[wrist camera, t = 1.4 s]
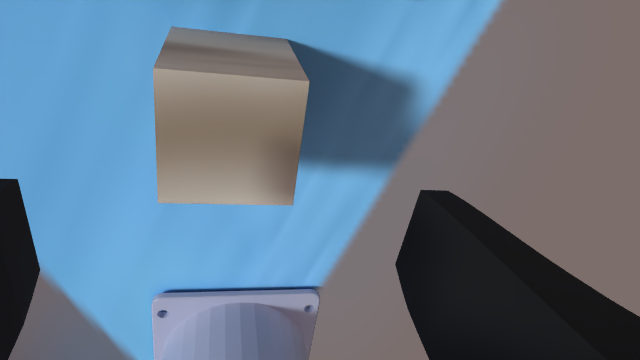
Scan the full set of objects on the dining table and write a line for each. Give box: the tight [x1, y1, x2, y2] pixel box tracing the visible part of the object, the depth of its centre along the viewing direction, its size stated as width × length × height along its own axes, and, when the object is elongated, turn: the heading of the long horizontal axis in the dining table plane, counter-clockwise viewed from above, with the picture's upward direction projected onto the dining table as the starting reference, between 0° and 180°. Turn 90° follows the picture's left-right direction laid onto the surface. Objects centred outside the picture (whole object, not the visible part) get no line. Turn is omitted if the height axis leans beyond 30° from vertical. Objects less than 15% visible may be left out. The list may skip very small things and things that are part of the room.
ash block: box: [153, 27, 310, 205], centre depth 15 cm, size 4×4×5 cm
